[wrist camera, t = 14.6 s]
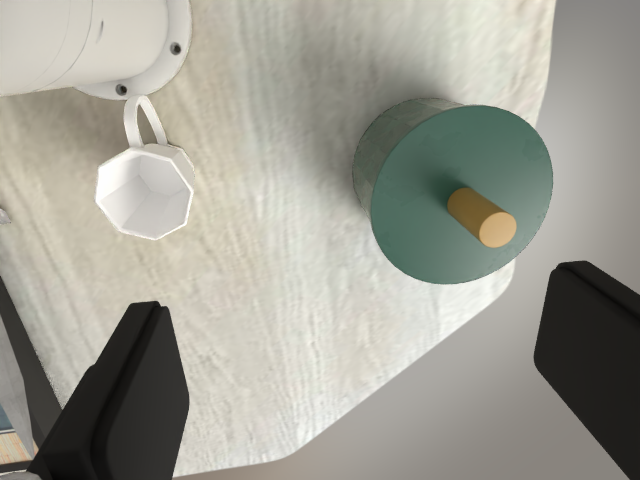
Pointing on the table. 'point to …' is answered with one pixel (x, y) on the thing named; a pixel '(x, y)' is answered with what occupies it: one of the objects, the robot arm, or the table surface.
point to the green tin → (388, 140)
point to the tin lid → (461, 194)
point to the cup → (145, 180)
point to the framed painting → (3, 442)
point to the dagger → (13, 384)
